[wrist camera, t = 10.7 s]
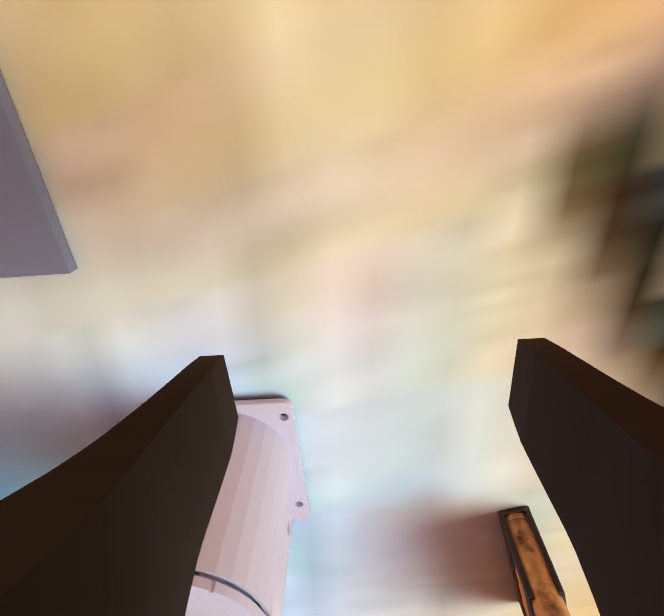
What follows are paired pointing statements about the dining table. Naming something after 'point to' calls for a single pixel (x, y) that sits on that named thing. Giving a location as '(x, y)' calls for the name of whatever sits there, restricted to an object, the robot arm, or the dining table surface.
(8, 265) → the board
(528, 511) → the ammunition clip
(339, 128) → the dining table surface
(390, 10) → the dining table surface
